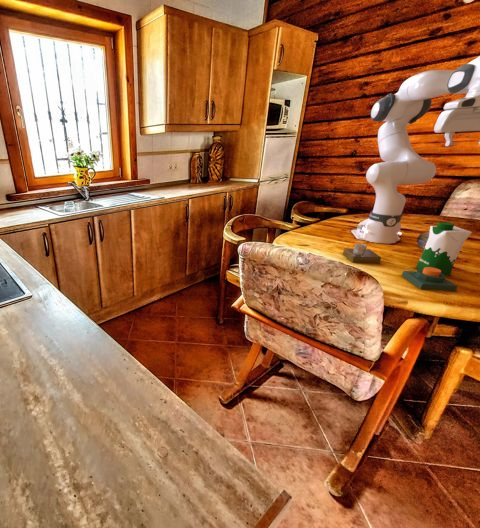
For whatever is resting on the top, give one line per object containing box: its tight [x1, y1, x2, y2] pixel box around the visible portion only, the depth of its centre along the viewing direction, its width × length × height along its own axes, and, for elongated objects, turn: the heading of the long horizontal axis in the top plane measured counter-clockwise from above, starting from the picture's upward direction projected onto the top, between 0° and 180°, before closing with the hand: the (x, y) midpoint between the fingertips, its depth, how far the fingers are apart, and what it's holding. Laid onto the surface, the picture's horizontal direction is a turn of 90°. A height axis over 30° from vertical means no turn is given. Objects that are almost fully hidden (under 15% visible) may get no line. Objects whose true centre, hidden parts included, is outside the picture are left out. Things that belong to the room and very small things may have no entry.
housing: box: [401, 269, 458, 292], centre depth 102 cm, size 11×10×4 cm
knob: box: [353, 243, 368, 255], centre depth 122 cm, size 4×4×4 cm
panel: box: [342, 247, 382, 264], centre depth 125 cm, size 11×11×3 cm
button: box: [422, 267, 441, 277], centre depth 101 cm, size 4×4×2 cm
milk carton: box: [415, 221, 473, 277], centre depth 106 cm, size 9×9×20 cm
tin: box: [416, 231, 430, 250], centre depth 127 cm, size 15×3×8 cm, turn 5°
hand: (465, 145), depth 99 cm, fingers open, 8 cm apart
